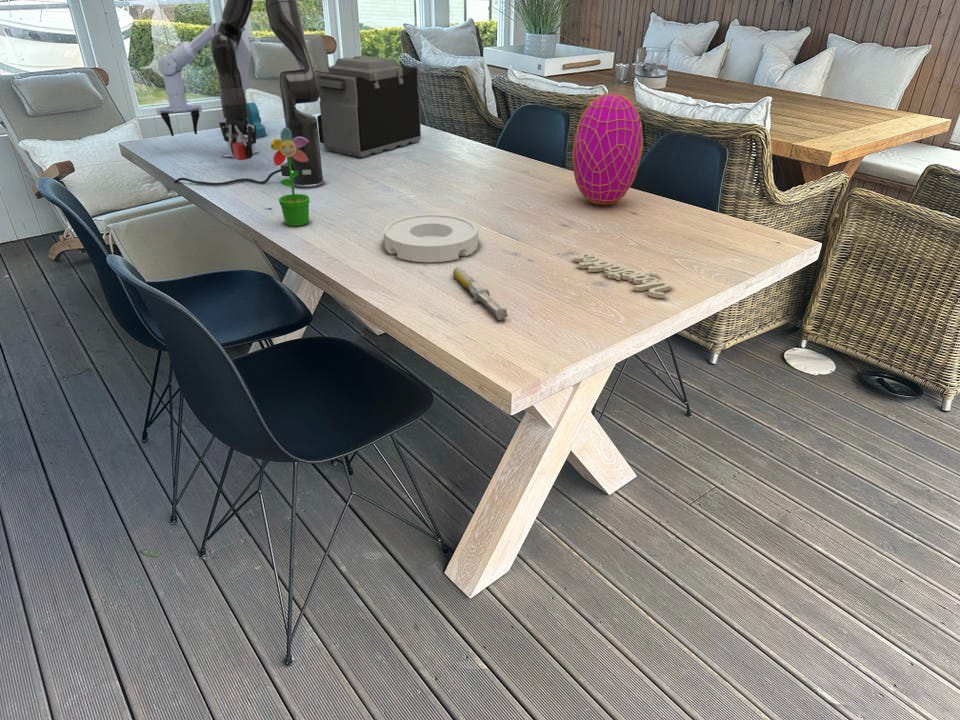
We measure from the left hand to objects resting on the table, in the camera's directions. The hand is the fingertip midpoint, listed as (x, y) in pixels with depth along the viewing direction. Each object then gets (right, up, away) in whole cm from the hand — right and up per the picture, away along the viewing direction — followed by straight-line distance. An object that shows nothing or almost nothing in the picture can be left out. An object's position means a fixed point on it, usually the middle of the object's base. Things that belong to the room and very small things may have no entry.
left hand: (184, 134), depth 242 cm
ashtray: (+92, -51, -71) cm, 127 cm away
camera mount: (+12, +11, +31) cm, 35 cm away
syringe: (+104, -66, -97) cm, 157 cm away
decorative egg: (+140, -34, -41) cm, 150 cm away
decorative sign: (+137, -60, -86) cm, 173 cm away
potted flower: (+56, -43, -58) cm, 91 cm away
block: (+26, -13, -16) cm, 33 cm away
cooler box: (+64, +1, +16) cm, 66 cm away
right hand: (+26, -12, -17) cm, 33 cm away
